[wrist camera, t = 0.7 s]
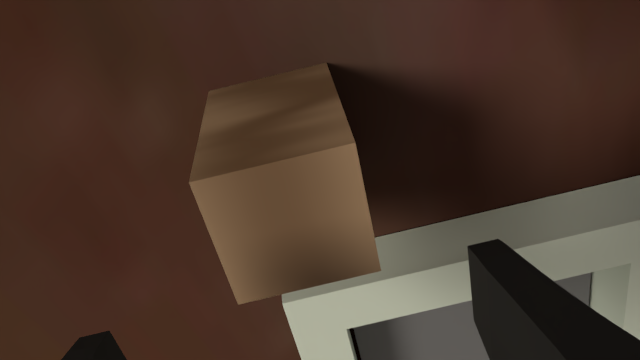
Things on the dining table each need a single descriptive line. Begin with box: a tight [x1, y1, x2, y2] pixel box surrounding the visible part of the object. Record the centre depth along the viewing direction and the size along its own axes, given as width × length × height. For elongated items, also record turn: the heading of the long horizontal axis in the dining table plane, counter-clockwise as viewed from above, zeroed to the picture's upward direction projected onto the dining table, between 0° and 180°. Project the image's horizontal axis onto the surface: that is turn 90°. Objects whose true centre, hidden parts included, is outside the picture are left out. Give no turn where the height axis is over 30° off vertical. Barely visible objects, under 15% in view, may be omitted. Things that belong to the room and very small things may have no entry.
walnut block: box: [189, 63, 381, 304], centre depth 16 cm, size 4×4×6 cm
